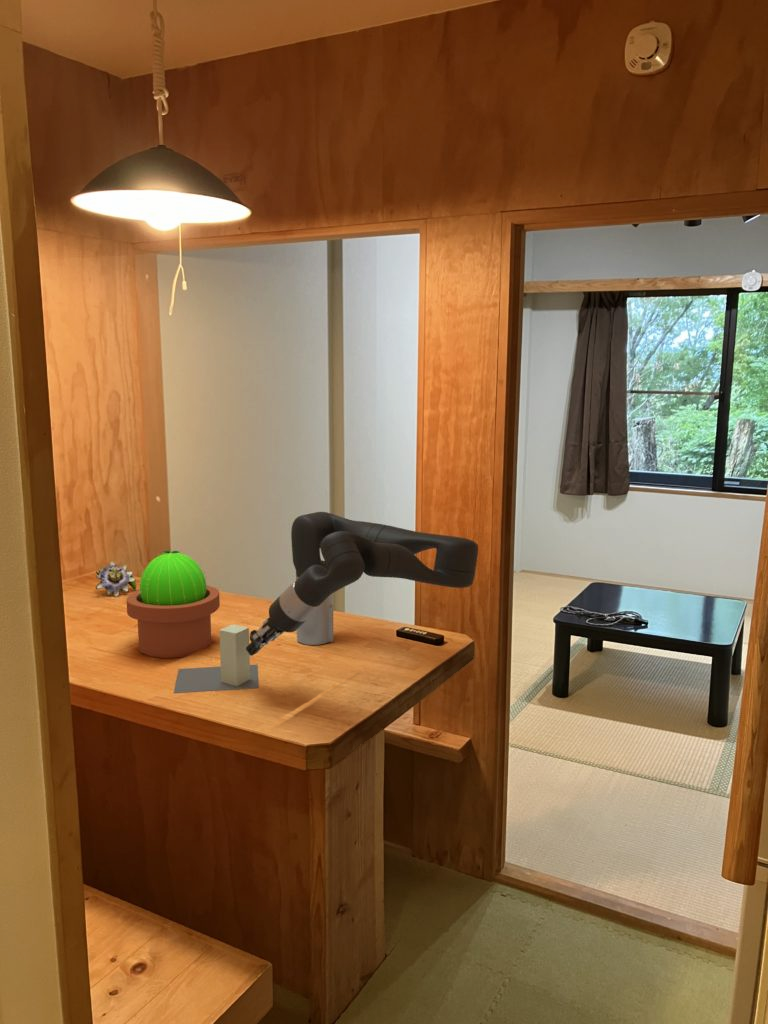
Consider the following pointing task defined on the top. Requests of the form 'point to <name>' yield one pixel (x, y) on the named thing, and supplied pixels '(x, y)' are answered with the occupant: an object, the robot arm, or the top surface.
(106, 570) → the passion flower
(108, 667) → the top surface
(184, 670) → the rubber mat
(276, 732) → the top surface
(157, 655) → the potted cactus
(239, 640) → the sage block
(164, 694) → the top surface
